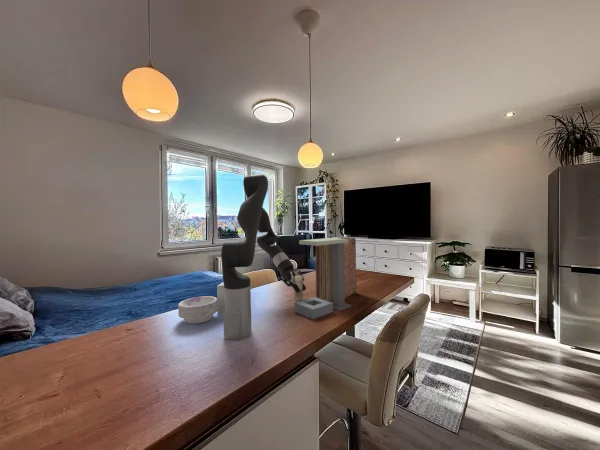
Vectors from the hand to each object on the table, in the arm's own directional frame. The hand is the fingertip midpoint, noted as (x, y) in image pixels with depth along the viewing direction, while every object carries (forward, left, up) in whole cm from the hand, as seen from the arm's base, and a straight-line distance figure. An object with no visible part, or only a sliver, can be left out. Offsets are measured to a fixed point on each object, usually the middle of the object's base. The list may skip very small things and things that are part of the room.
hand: (301, 290), depth 119 cm
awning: (-5, -13, -7) cm, 15 cm away
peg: (+1, +2, -5) cm, 6 cm away
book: (+15, -15, -7) cm, 22 cm away
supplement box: (-15, +31, -7) cm, 35 cm away
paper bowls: (-26, +38, -7) cm, 46 cm away
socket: (-8, -7, -7) cm, 13 cm away
